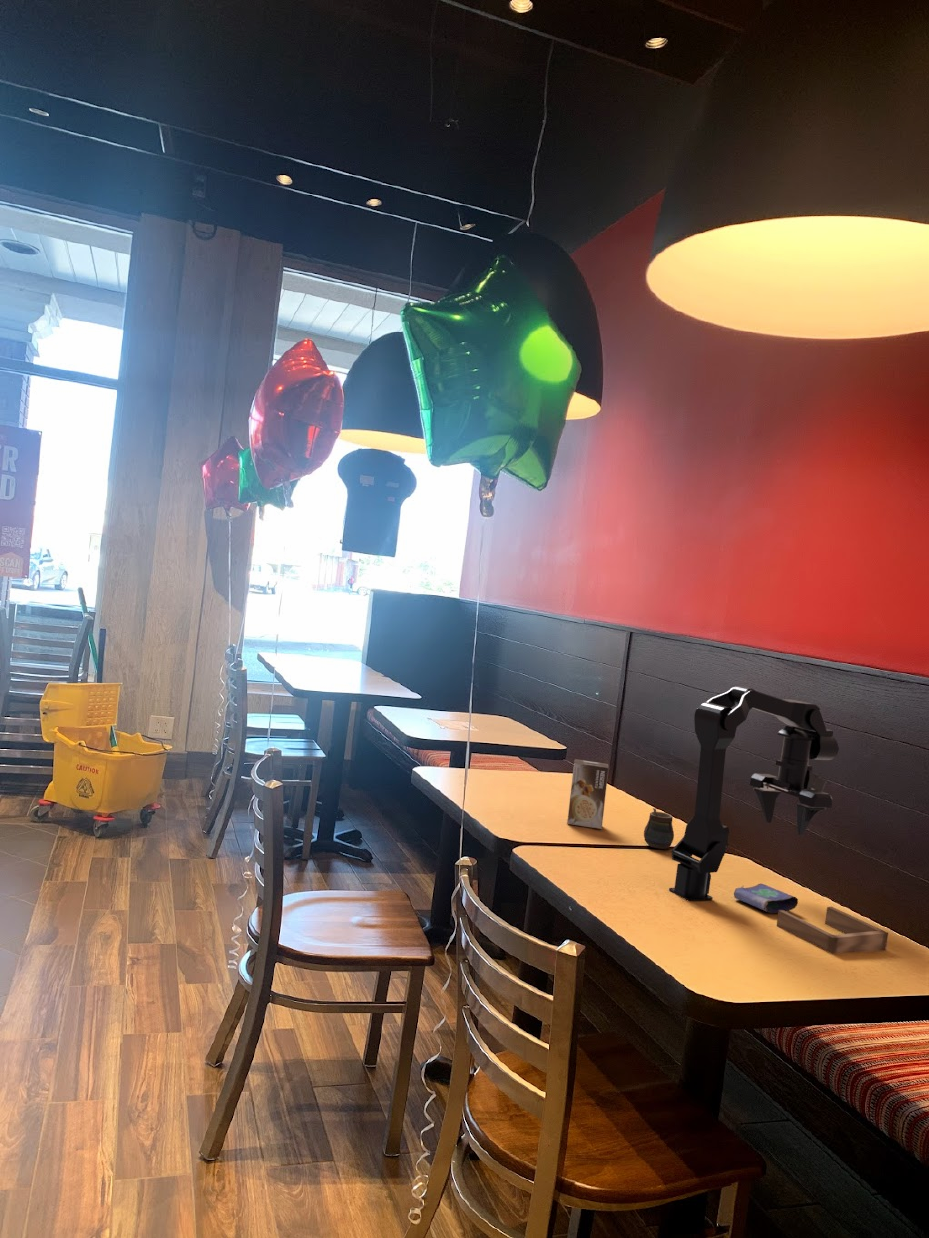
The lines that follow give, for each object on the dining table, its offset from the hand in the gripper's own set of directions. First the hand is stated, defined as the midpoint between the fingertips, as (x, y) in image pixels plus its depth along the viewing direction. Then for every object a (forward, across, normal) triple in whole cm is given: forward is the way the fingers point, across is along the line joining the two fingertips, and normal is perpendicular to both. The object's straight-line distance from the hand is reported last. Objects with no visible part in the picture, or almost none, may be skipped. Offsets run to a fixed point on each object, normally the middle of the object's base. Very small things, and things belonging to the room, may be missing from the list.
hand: (784, 828), depth 201 cm
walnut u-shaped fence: (+14, -24, +11) cm, 30 cm away
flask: (+15, -12, +11) cm, 22 cm away
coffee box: (+14, +51, +16) cm, 55 cm away
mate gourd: (+14, +31, +8) cm, 35 cm away
